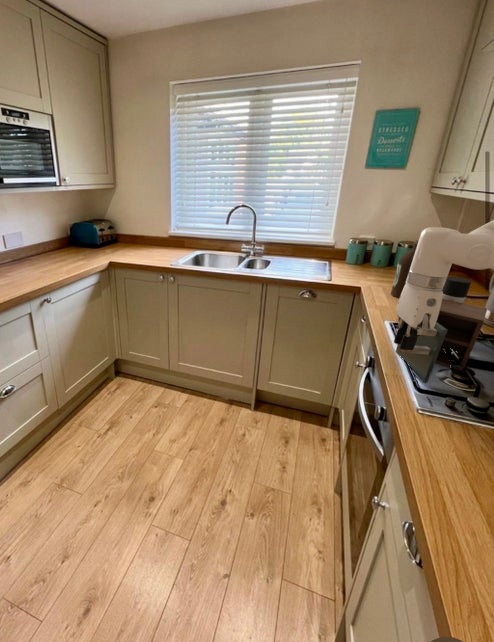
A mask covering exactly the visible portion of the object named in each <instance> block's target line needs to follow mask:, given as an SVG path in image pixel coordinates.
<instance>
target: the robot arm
mask: <svg viewBox="0 0 494 642" xmlns="http://www.w3.org/2000/svg"><path fill="white" fill-rule="evenodd" d="M418 240H419V242H418V245H417V248H416V251H415V254H414V258H413V261H412V264H411V267H410V270H409V273H408V277H407V280H406V284H405V286H404V288H403V291H402V293H401V296H400V298H398V302H397V305H396V309H395V313H396V315H397V318H398V319H397V320H398V324H397V326H396V327H397V331H396V333H395V337H394V339H393V343H394V344H395V345H398V344H400V347H399V348H400V349H401V350H413V349H414V346H415V343H416V341H417V338H419V337H420V336H421V335H424V336H426V335H427V331H428V329H433V328H434V326H435V324H436V321H437V318H438V314H439V311H440V307H441V302H442V296H443V291H442V290H443V287H444V284H445V281H446V279H447V277H449V273H450V270H451V268H452V265H453V264H454V265H456V266H459V267H464V268H467V269H471V270H476V271H477V270H480V271H481V270H482V271H483V270H487V269H491V268H494V219H493V220H491V221H489V222H487V223H485V224H483V225H481V226H479V227H477V228H476V229H473V230H472V231H469V232H468V233H461V232H460V231H459V230H457V229H453V228H448V227H441V226H439V227H438V226H430V227H426V228H424V229H423V230H422V231H421V233H420V235H419V238H418ZM418 324H419V325H418ZM413 328H414V329H417V330H413V331H412V329H413Z"/></svg>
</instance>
